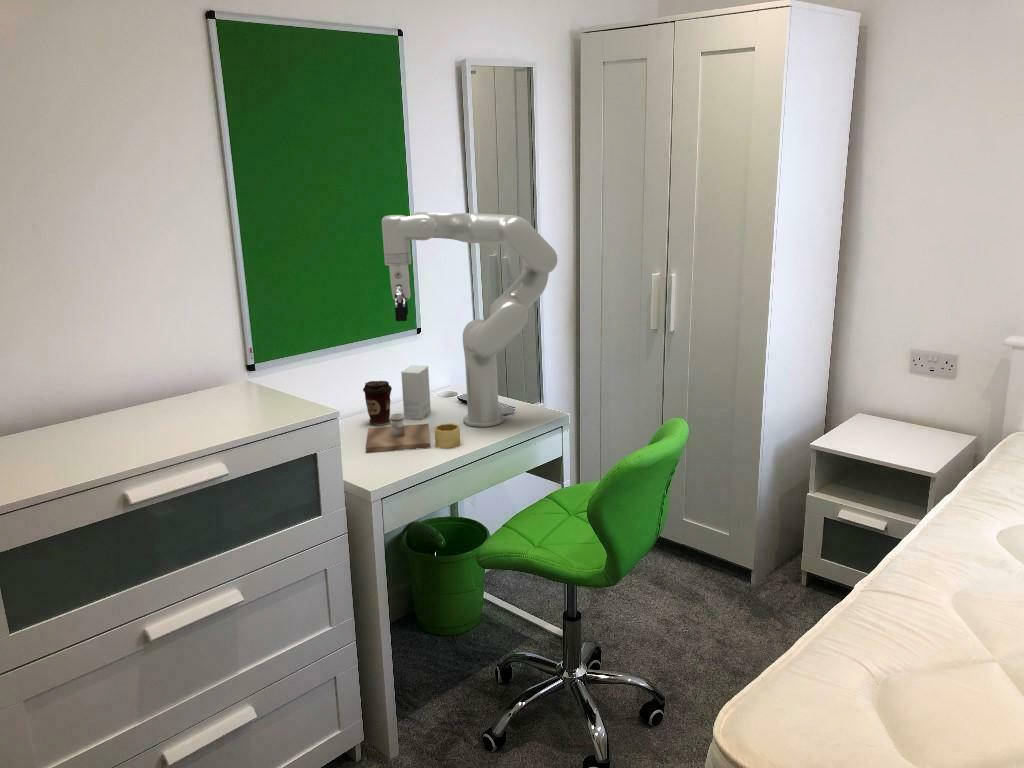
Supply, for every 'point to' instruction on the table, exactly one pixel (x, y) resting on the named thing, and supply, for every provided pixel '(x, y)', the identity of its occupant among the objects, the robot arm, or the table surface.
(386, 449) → the post board
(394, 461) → the table surface
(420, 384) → the skincare box
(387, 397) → the coffee cup
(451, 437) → the brass ring
